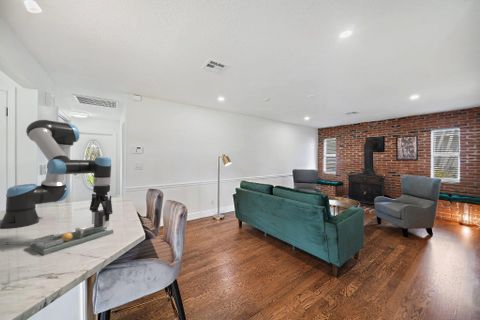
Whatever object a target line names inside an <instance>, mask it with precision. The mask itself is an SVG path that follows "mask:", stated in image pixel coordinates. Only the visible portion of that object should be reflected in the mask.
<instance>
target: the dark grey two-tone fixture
mask: <svg viewBox="0 0 480 320" xmlns="http://www.w3.org/2000/svg"><path fill="white" fill-rule="evenodd" d="M103 215H104V211H103V209H100V210H99V211H95V215H94V224H93V226H90V227H86V228H80V227H75V231H74V232H75V236H76V237H78V238H83V235H87V234H90V233H94V232H97V231H101V230H108V227H104V228H103Z"/></svg>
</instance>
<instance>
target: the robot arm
mask: <svg viewBox="0 0 480 320" xmlns="http://www.w3.org/2000/svg"><path fill="white" fill-rule="evenodd" d="M25 132H26V135H27V137H28V138H29V140H31V141H33V142H34V143H35V144H36V145H37V148H39V150H40V151H41V152H42V154H43V155H44V156H45V158H46V159H47V161H48V162H47V163H46V172H45V173H46V174H45V178H44V180H42V181H41V184H40V185H38V184H36V183H28V184H18V185H13V186H10V187H9V188H8V189H6V190H7V191H6V194H5V197H6V200H5V202H6V203H5V213H4V215H3V218H2V219H1V221H0V228H1V229H14V228H23V227H27V226H32V225H35V224H38V223H39V221H40V217H39V214H38V212H37V209H36V208H37V207H36V206H37V205H43V204H49V203H58V202H62V201H64V200H65V199H66V198H67V197H68V195H69V191H70V189H69V185H68V184H67V183H66V182H65V181H64V179H65V175H75V174H77V175H79V174H81V175H82V174H93V188H92V194H91V201H90V206H89V211H90V212H91V225H94V215H95V211H100V210H99V207H100V205H101V207H102V210H103V211H104V215H103V228H104V227H107V228H108V227H110V216H111V215H113V206H112V205H113V204H112V195H108V193H110V190H111V177H112V175H111V173H112V159H111V157H102V156H96V157H95V158H94V160H93V159H85V160H84V159H70V157H69V152H70V148H71V147H72V146H74V143H76V142H78V141H79V140H80V131H79V128H78V127H77V126H76V125H75V124H72V123H67V122H61V121H54V120H47V119H39V120H35V121H33V122H31V123H30V124H29V125H27V127H26V131H25Z"/></svg>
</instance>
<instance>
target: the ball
mask: <svg viewBox="0 0 480 320" xmlns="http://www.w3.org/2000/svg"><path fill="white" fill-rule="evenodd" d="M61 235H62V238H61V239H63V241H65V242H66V241H69V240H71V239H72V237H73V235H72V234H71V232H65V233H63V234H61Z"/></svg>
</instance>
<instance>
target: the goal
mask: <svg viewBox="0 0 480 320" xmlns="http://www.w3.org/2000/svg"><path fill="white" fill-rule="evenodd" d="M54 237H55V236H54V234H48V235H45V236H41V237H37V238H34V242H35V247H36V248H38V249H40V250H42V251H43V250H45V249H48V248H52V247H55V246H58V245H62V244H63V239H58V240H55V241H53V239H54Z"/></svg>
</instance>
